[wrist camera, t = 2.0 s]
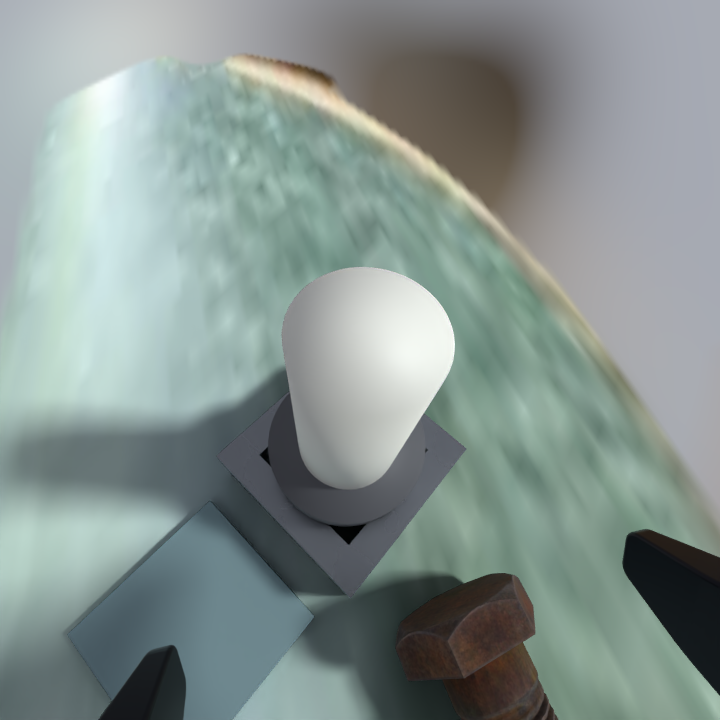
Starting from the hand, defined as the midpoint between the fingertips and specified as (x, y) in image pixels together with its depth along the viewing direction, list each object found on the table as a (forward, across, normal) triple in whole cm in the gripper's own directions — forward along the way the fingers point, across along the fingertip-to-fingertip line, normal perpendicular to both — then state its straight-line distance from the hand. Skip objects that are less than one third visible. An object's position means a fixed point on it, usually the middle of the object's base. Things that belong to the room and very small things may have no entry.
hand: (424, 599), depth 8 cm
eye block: (+12, 0, +5) cm, 13 cm away
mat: (+8, +7, +8) cm, 14 cm away
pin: (+12, 0, +5) cm, 13 cm away
